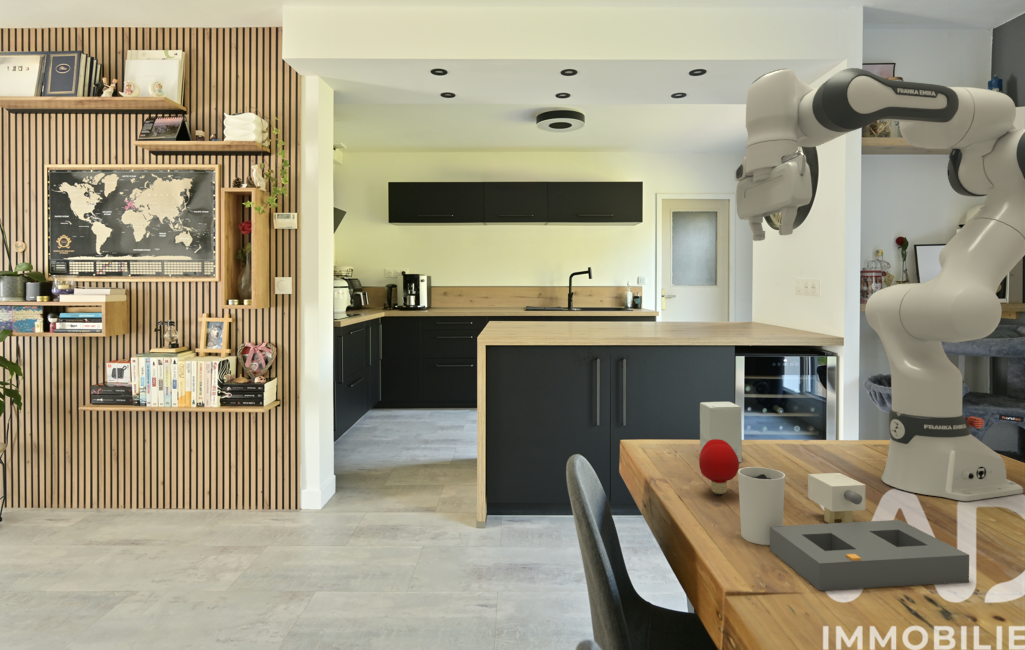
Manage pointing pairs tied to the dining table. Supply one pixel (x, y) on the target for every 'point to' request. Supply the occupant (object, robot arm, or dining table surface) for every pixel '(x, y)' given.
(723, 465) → the red rounded egg-shaped part
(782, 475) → the beige cup
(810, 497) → the plug
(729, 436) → the supplement box
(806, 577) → the double socket
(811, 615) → the dining table surface
